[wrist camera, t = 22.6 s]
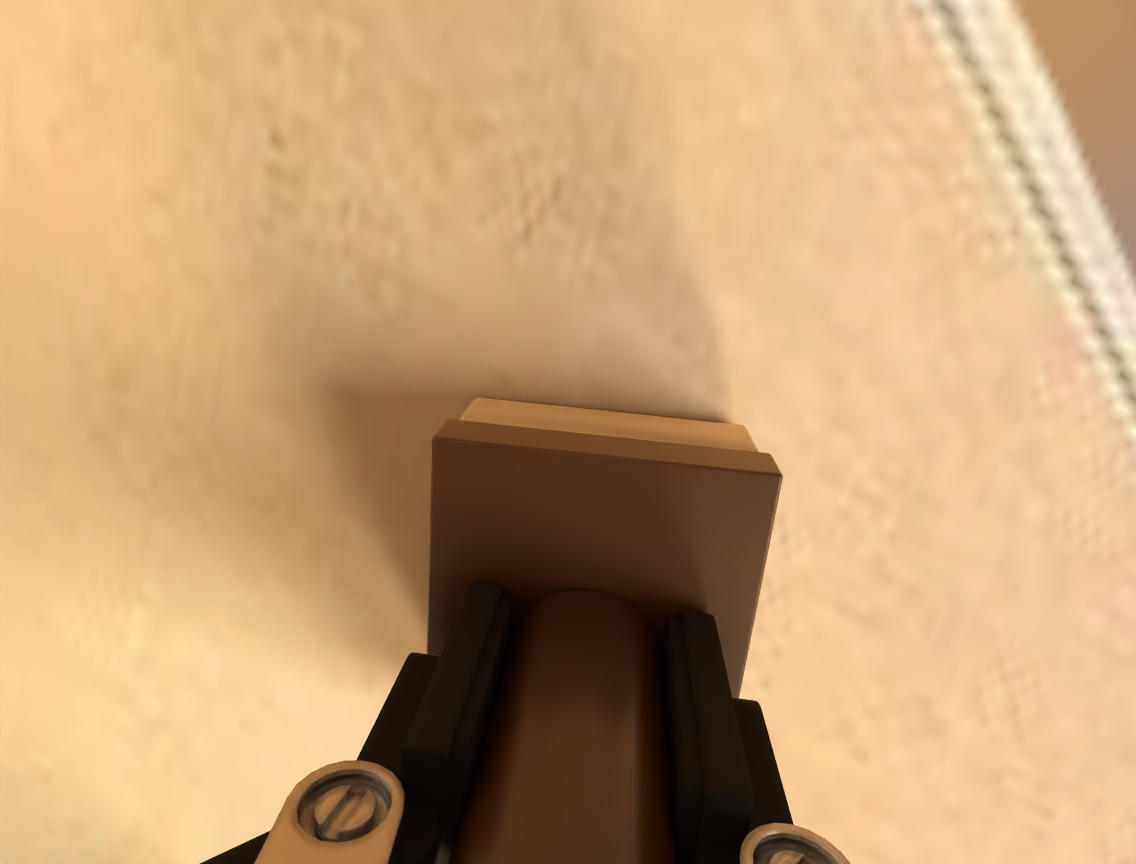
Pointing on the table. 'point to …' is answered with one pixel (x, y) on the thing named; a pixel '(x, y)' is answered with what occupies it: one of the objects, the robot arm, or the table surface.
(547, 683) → the peg on plate
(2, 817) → the table surface
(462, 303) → the table surface
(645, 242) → the table surface
